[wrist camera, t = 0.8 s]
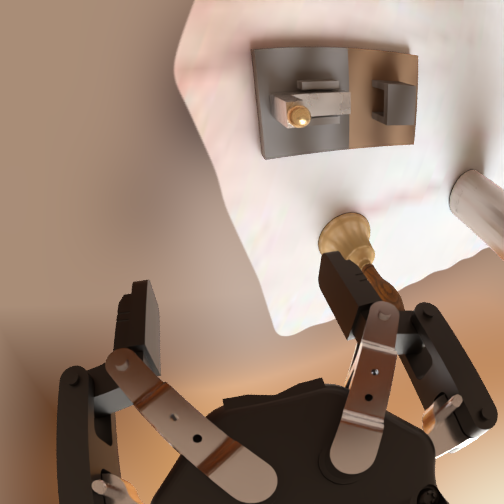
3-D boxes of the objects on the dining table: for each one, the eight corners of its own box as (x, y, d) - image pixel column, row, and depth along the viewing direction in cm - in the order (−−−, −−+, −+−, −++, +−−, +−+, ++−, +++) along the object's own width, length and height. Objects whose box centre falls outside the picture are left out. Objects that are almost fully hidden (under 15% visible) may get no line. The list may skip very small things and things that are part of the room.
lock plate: (410, 54, 27) (435, 58, 24) (407, 140, 35) (428, 153, 31) (250, 49, 25) (261, 48, 22) (262, 155, 33) (273, 170, 29)
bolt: (341, 89, 28) (378, 102, 22) (342, 110, 29) (378, 127, 24) (267, 94, 27) (290, 105, 22) (269, 116, 29) (292, 134, 23)
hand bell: (306, 247, 42) (356, 336, 30) (345, 202, 39) (413, 281, 26) (343, 267, 46) (392, 347, 34) (378, 228, 43) (440, 302, 30)
